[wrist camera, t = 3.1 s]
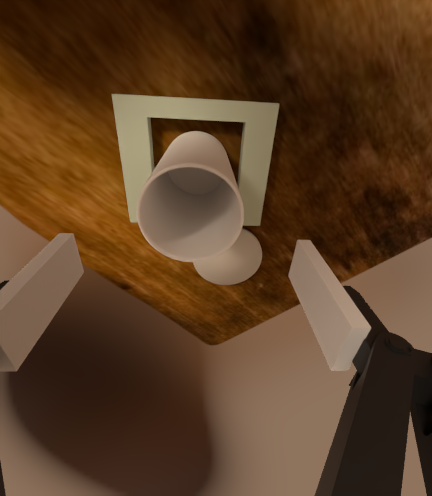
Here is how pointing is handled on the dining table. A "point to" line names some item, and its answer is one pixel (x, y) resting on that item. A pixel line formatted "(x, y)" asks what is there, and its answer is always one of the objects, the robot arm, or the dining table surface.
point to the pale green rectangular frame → (144, 107)
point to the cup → (191, 200)
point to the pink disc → (233, 261)
